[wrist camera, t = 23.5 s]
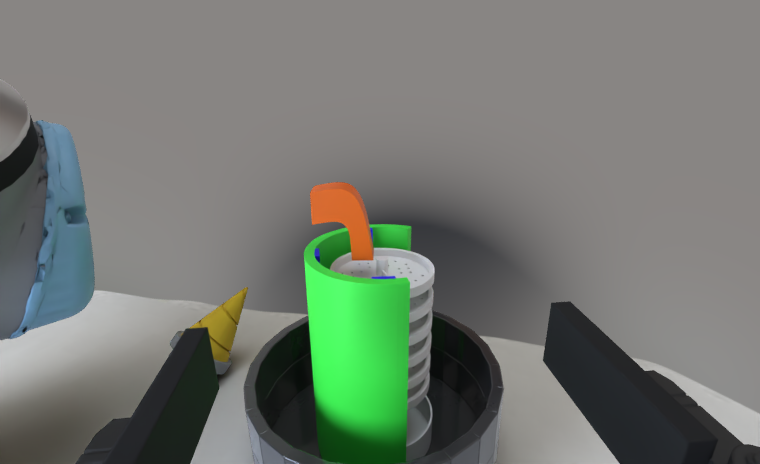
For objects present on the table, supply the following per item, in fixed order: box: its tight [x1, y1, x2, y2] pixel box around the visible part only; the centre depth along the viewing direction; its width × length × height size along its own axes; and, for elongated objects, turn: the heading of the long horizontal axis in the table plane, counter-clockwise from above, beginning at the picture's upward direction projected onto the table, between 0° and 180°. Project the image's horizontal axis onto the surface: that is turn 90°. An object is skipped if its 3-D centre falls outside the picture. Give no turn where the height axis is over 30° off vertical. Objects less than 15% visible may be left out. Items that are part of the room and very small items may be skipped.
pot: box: [244, 310, 504, 464], centre depth 28 cm, size 16×16×6 cm
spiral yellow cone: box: [169, 287, 248, 374], centre depth 36 cm, size 5×5×10 cm
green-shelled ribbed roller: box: [304, 182, 434, 464], centre depth 26 cm, size 9×8×18 cm
